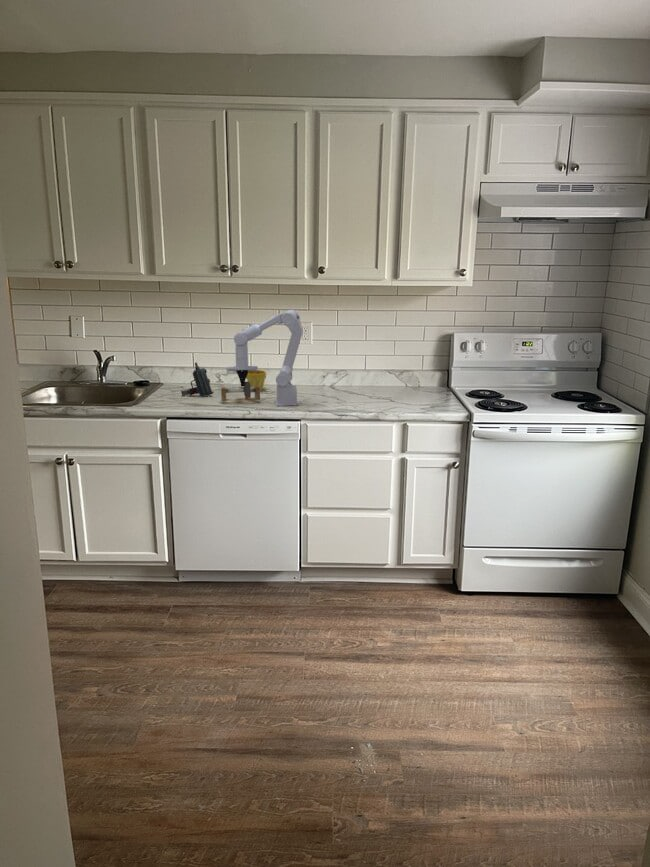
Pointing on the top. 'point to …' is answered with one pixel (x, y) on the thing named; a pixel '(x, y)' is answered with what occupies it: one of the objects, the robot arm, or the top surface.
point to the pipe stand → (239, 400)
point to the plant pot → (256, 378)
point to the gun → (199, 383)
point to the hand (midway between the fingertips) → (242, 386)
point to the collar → (247, 390)
